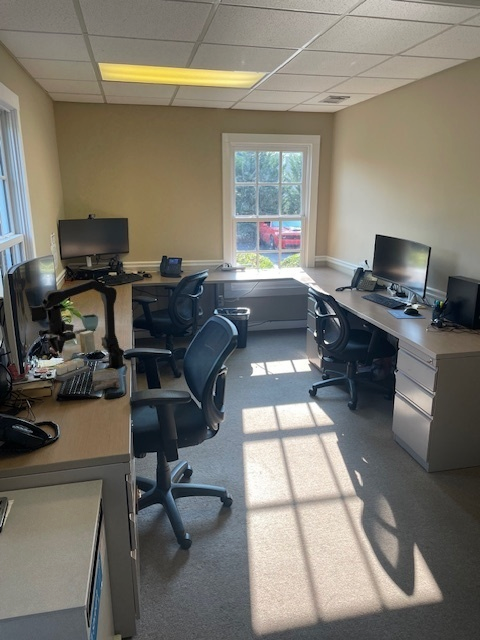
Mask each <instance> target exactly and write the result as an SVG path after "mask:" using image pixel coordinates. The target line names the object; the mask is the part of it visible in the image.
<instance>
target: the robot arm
mask: <svg viewBox="0 0 480 640" xmlns="http://www.w3.org/2000/svg"><path fill="white" fill-rule="evenodd" d="M91 290H94V291H95V292H97V293H99V294H100V298H101V302H102V304H103V313H104V326H105V327H104V330H105V335H104V337H103V336H101V346H102V348H103V349H104V350H105V351H106V352H107V353H108V365H107V367H108V368H112V369H116V370H118V369H119V368H121V367H123V366H126V363H124V354H125V350H124V349H122V348H121V347H120V344H119V341H118V338H117V336H116V326H115V325H116V323H115V322H116V321H115V304H116V300H117V293H118V292H117V289H116V288H114V287H113V286H109V285H104V284H102V283H100V282H97V281H96V280H94V279H89V280H86V281H84V282H82V283H78V284H75V285H72V286H68V287H66V288H62V289H53V290H48V291H46V292H45V294H44V299H43V300H42V302H41V303H40V305H38V306H31V307H32V313H31V315H32V321H33V322H32V323H37V322H45V320H47V322H46V325H48V327H45V328H42V329H39V330H40V331H39V330H38V331H39V335H40V338H43V337H44V336H45V337H44V339H45V340H46V341H47V342H48V344H49V346H50V347H51V349H52V350H53V351H54V353H59V354H62V353H63V351H64V350H63V349H64V345H65V343H66V342H68V341H71V340H75V339H77V335H76V333H75V332H74V326H75V325H74V324H69V323H66V321H65V320H62V319H63V318H62V317H63V316H62V310H63V309H66V306H65V305H63V304H62V302H65V301H66V300H67V299H69V298H71V297H75V296H76V295H79V294H82V293H85V292H88V291H89V292H90V291H91Z"/></svg>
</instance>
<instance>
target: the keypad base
mask: <svg viewBox="0 0 480 640" xmlns="http://www.w3.org/2000/svg"><path fill="white" fill-rule="evenodd" d="M88 370H91V366H88V365H84V366H83V367H82V368H80V369H75V370H72V372H68V371H67V373H64V374H62V375H58V374H57V376H56V380H55V381H60V382H66V381H68V380H67V379H69V378H71V377H74V376H76V375H78V374H81V373H83V372H86V371H88ZM76 377H77V376H76ZM74 378H75V377H74ZM71 379H72V378H71ZM65 380H66V381H65ZM69 380H70V379H69Z"/></svg>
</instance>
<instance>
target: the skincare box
mask: <svg viewBox="0 0 480 640" xmlns="http://www.w3.org/2000/svg"><path fill="white" fill-rule="evenodd" d="M79 342H80V351H81V354H82V353H84V354H87V353H90V352H93V351H96V345H95V344H96V343H95V336H94V330H89V331H88V330H86V331H82V332H79Z"/></svg>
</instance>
